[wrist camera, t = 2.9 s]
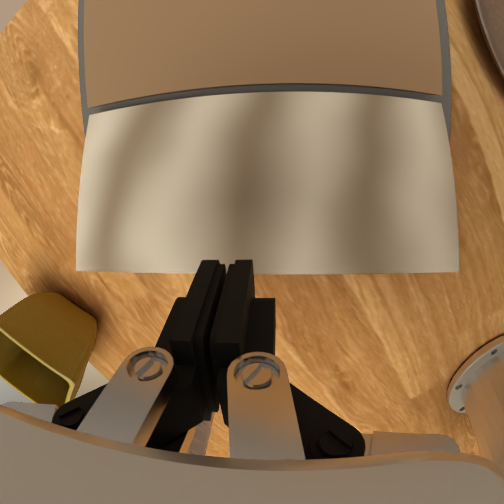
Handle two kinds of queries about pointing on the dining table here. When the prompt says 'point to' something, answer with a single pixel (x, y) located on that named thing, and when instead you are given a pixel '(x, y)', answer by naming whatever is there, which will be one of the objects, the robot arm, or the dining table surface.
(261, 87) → the floor section
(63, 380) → the flower pot
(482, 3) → the plant saucer
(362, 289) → the dining table surface
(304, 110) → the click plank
